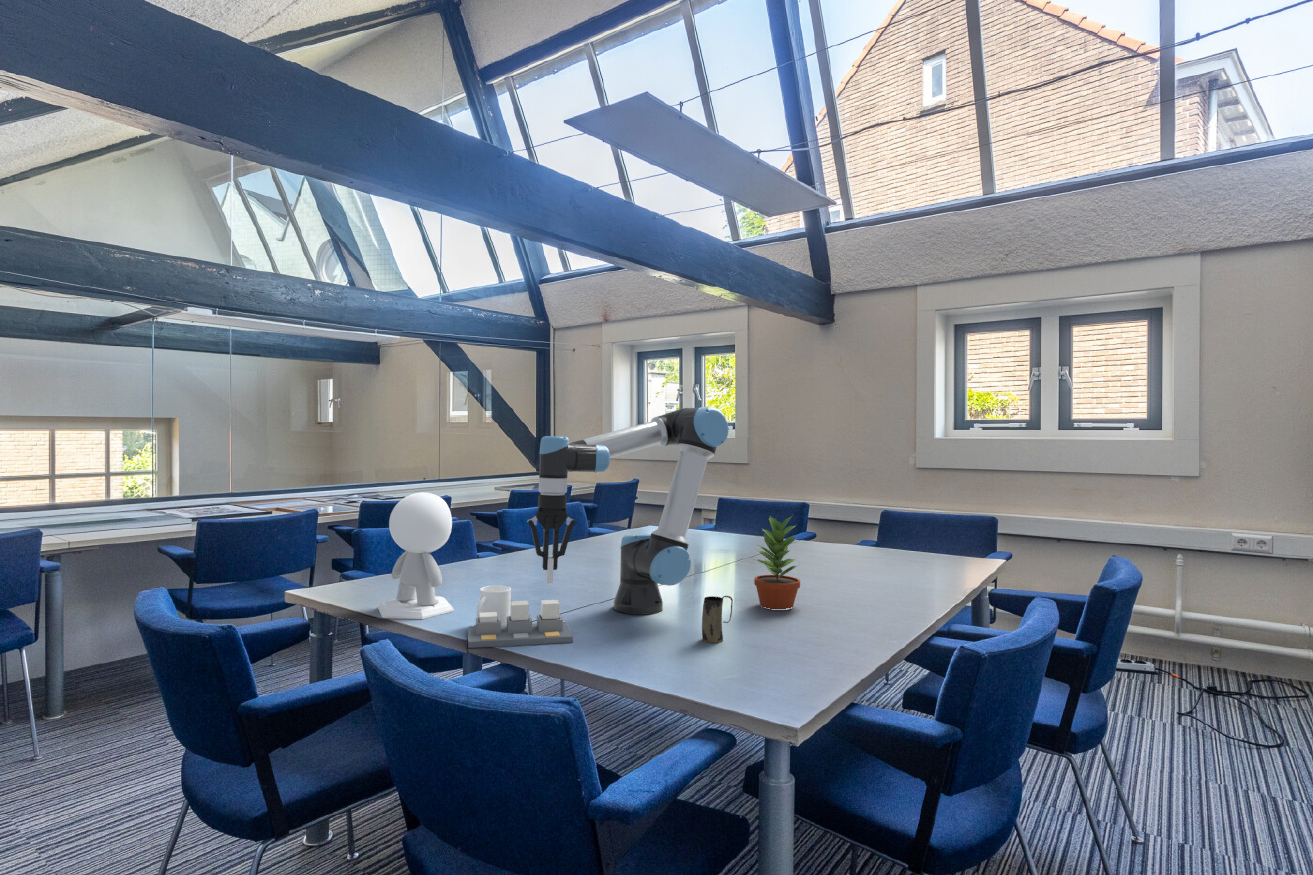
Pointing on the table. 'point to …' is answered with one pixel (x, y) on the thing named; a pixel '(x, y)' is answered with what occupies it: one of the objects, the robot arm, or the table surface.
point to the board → (518, 632)
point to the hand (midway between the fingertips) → (549, 581)
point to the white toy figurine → (418, 556)
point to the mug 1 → (495, 601)
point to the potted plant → (777, 569)
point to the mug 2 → (713, 619)
